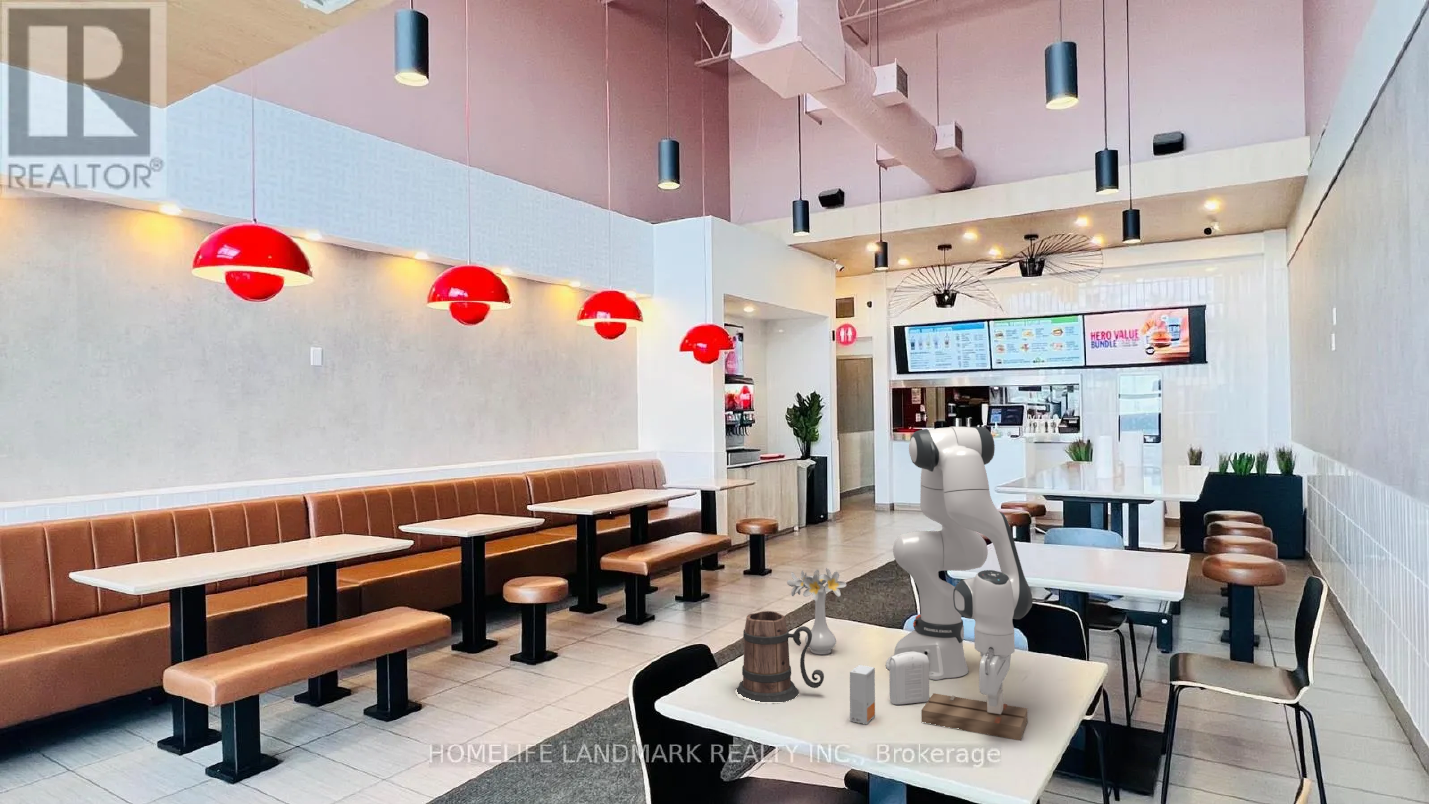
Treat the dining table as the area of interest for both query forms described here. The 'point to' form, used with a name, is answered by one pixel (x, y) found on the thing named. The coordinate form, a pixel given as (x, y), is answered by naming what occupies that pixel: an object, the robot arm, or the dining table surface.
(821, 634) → the flower vase
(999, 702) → the fader knob
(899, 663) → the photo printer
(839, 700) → the dining table surface
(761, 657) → the tankard
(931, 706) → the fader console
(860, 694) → the skincare box
